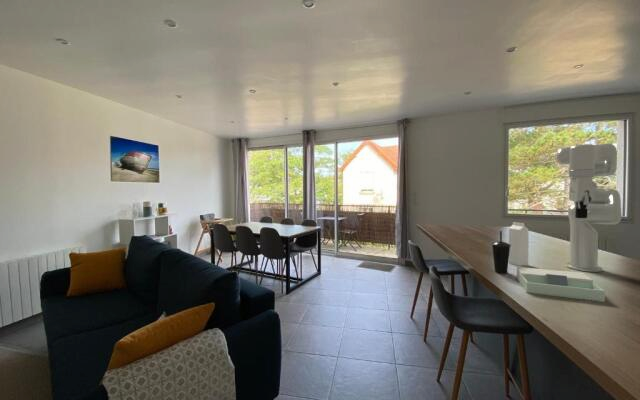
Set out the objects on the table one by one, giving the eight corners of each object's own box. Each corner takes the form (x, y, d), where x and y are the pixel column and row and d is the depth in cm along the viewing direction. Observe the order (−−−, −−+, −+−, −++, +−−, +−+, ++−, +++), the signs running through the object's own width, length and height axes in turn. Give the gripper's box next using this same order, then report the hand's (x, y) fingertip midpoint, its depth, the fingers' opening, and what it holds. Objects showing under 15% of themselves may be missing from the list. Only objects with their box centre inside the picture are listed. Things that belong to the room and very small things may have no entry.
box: (521, 285, 110) (521, 275, 110) (593, 292, 100) (593, 282, 100) (526, 292, 102) (526, 282, 102) (604, 302, 92) (604, 290, 92)
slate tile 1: (545, 274, 106) (546, 273, 104) (564, 276, 103) (566, 275, 102) (546, 284, 105) (547, 284, 103) (566, 287, 102) (568, 286, 100)
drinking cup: (514, 274, 122) (514, 232, 121) (495, 274, 124) (495, 232, 123) (506, 269, 130) (505, 229, 129) (488, 269, 131) (488, 229, 130)
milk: (520, 266, 134) (520, 223, 133) (508, 263, 140) (508, 222, 139) (528, 264, 136) (528, 222, 135) (517, 261, 142) (516, 221, 141)
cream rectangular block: (516, 277, 118) (516, 267, 118) (582, 284, 108) (582, 272, 108) (521, 284, 110) (521, 273, 110) (592, 292, 100) (592, 279, 100)
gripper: (563, 175, 118) (563, 215, 119) (577, 174, 105) (576, 219, 106) (585, 174, 115) (585, 216, 116) (602, 173, 102) (602, 220, 103)
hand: (581, 217), depth 111 cm, fingers closed
